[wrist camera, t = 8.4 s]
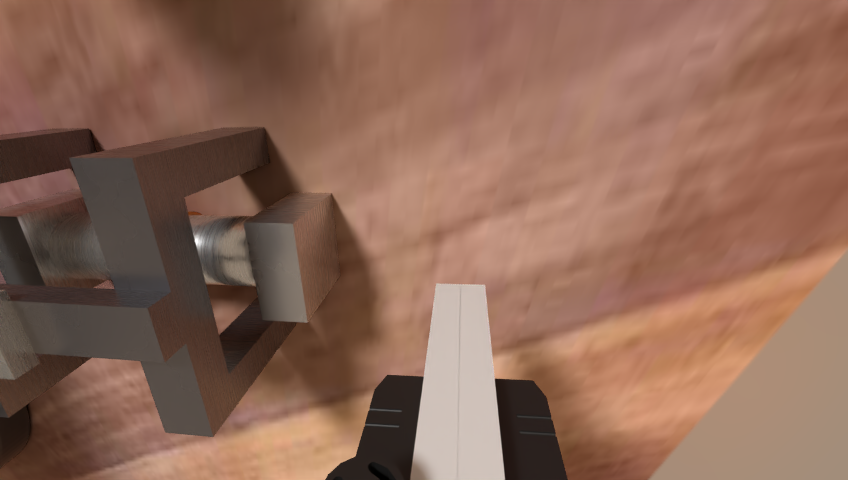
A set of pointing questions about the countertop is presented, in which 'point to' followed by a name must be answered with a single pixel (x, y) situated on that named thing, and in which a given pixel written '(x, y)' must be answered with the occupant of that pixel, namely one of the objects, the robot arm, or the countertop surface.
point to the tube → (215, 239)
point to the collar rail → (137, 278)
